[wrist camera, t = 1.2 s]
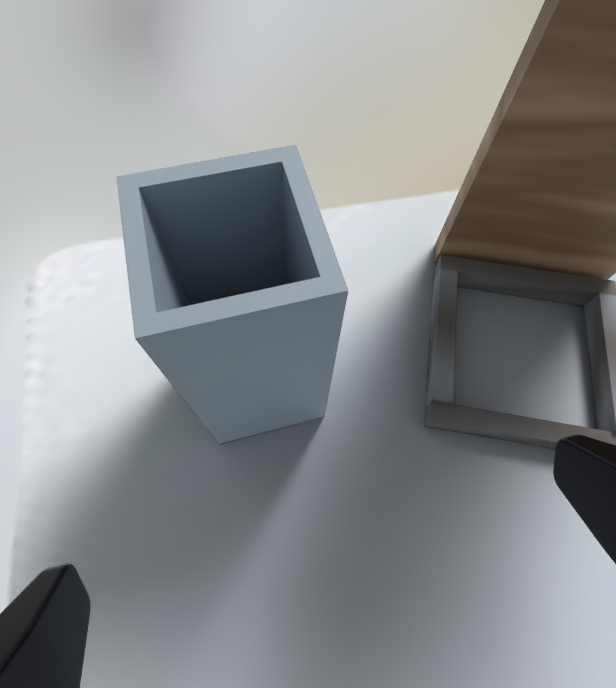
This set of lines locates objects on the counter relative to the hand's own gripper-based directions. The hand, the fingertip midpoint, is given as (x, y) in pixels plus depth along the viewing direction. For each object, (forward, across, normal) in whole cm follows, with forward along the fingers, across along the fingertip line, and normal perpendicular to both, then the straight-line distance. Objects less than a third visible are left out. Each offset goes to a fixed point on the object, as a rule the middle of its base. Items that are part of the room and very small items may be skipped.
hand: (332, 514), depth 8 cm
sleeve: (+16, +1, +4) cm, 16 cm away
